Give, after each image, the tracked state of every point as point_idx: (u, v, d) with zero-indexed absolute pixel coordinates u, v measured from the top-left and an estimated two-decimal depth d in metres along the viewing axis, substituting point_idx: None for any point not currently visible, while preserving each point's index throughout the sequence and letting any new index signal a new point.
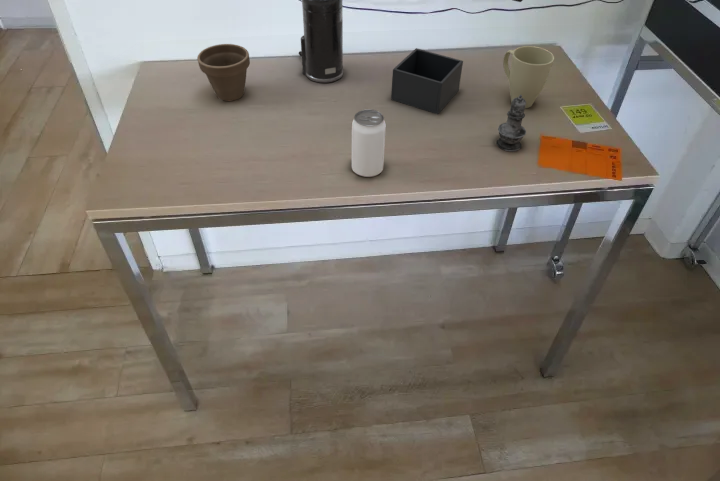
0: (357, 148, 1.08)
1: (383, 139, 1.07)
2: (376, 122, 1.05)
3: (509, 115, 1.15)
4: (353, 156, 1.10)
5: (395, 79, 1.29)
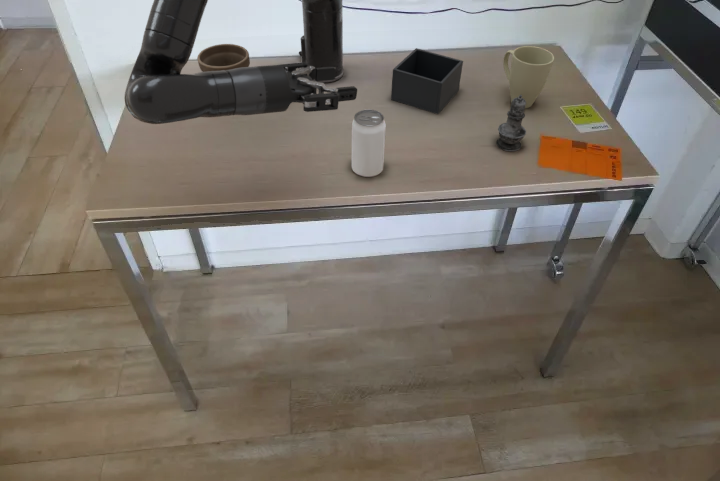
0: (357, 148, 1.08)
1: (383, 139, 1.07)
2: (376, 122, 1.05)
3: (509, 115, 1.15)
4: (353, 156, 1.10)
5: (395, 79, 1.29)
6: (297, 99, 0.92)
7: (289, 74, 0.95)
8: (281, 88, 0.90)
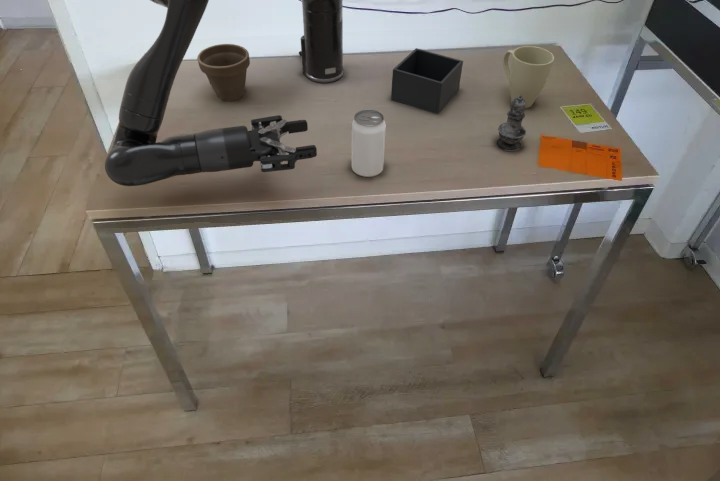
0: (357, 148, 1.08)
1: (383, 139, 1.07)
2: (376, 122, 1.05)
3: (509, 115, 1.15)
4: (353, 156, 1.10)
5: (395, 79, 1.29)
6: (258, 159, 1.01)
7: (258, 131, 1.04)
8: (241, 150, 0.99)
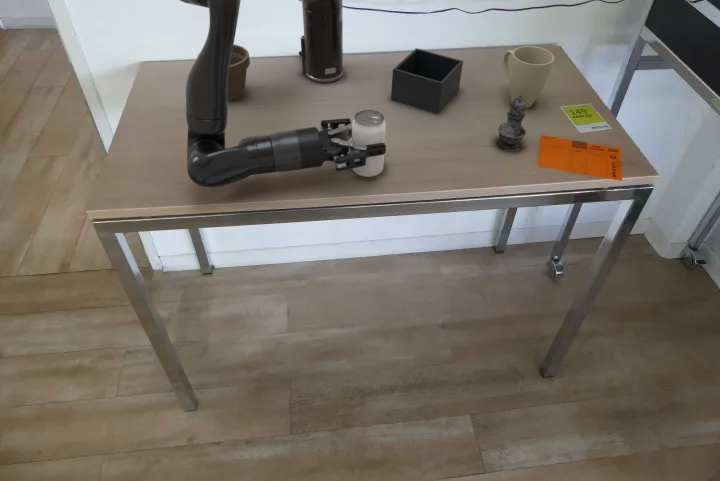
0: None
1: (383, 139, 1.07)
2: (376, 122, 1.05)
3: (509, 115, 1.15)
4: None
5: (395, 79, 1.29)
6: (329, 159, 1.05)
7: (328, 132, 1.09)
8: (314, 151, 1.03)
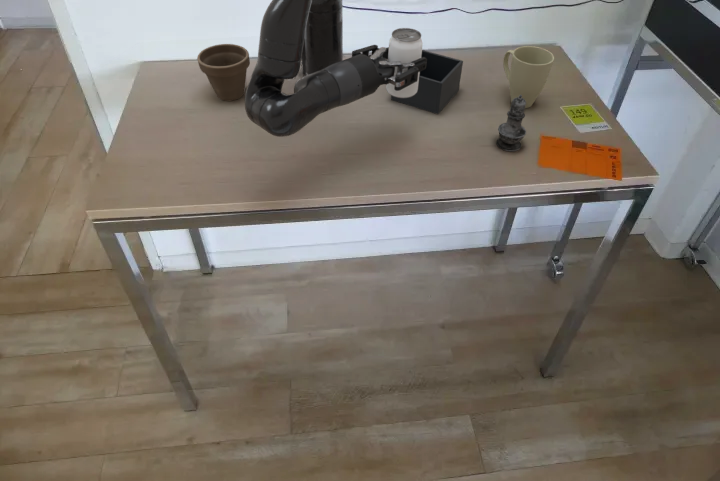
0: None
1: (421, 54, 1.09)
2: (416, 37, 1.06)
3: (509, 115, 1.15)
4: None
5: None
6: (384, 81, 1.04)
7: None
8: (372, 75, 1.02)
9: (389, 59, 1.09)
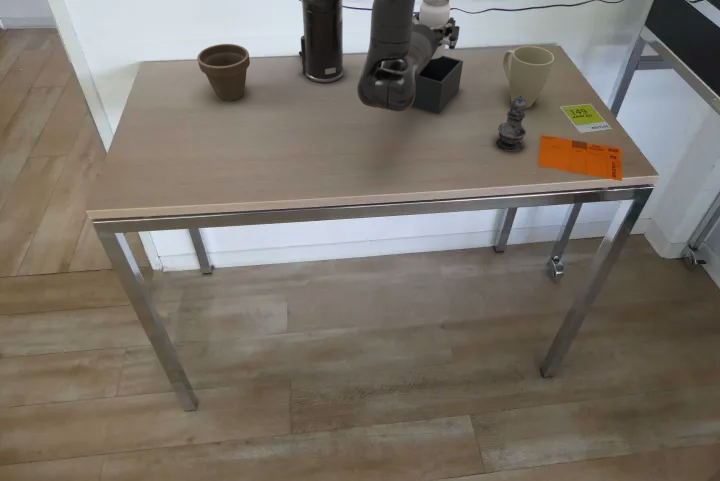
0: None
1: None
2: (444, 0, 1.19)
3: (509, 115, 1.15)
4: None
5: None
6: (439, 44, 1.16)
7: None
8: (435, 40, 1.12)
9: None
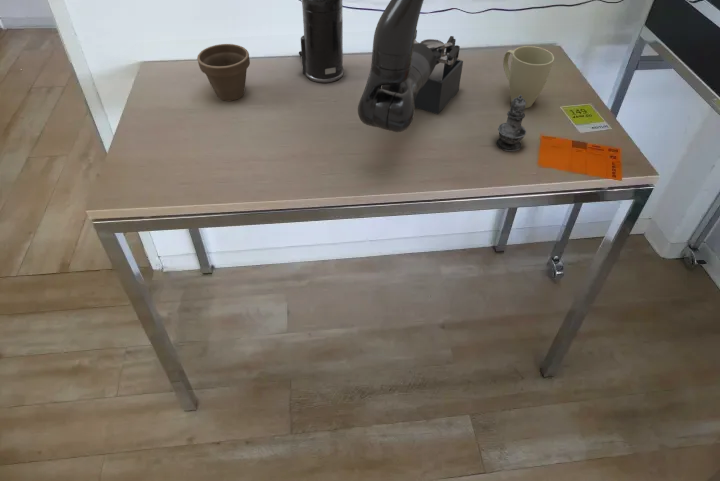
0: (434, 74, 1.27)
1: None
2: None
3: (509, 115, 1.15)
4: None
5: None
6: (437, 62, 1.19)
7: None
8: (432, 59, 1.16)
9: None
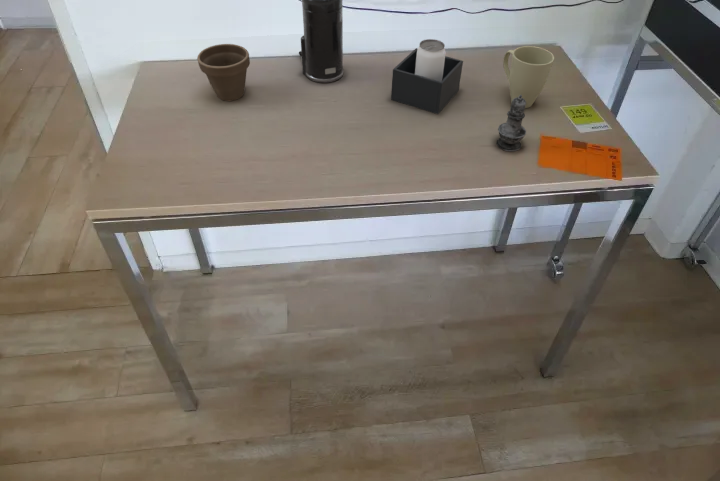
0: (434, 74, 1.27)
1: None
2: (439, 45, 1.26)
3: (509, 115, 1.15)
4: None
5: (395, 79, 1.29)
6: None
7: None
8: None
9: (421, 69, 1.27)
